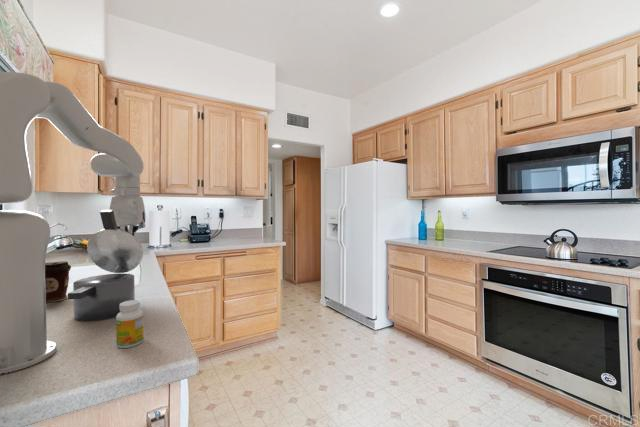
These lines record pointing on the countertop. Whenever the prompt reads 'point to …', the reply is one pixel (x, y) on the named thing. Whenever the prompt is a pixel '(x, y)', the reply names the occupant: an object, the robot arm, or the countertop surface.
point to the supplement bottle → (129, 324)
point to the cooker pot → (101, 296)
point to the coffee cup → (56, 280)
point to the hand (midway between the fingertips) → (128, 244)
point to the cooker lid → (114, 247)
